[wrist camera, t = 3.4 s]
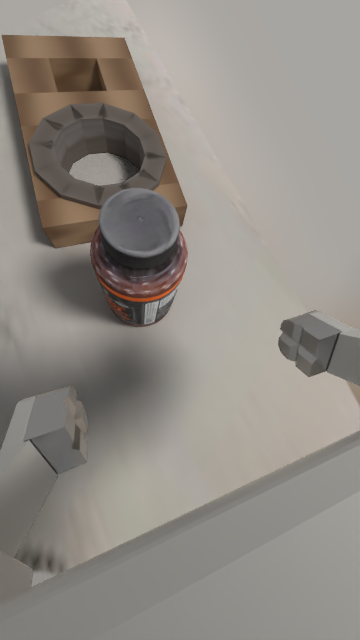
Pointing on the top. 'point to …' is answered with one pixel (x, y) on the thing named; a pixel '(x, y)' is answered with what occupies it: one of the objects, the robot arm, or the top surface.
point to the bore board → (84, 127)
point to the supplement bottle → (139, 255)
